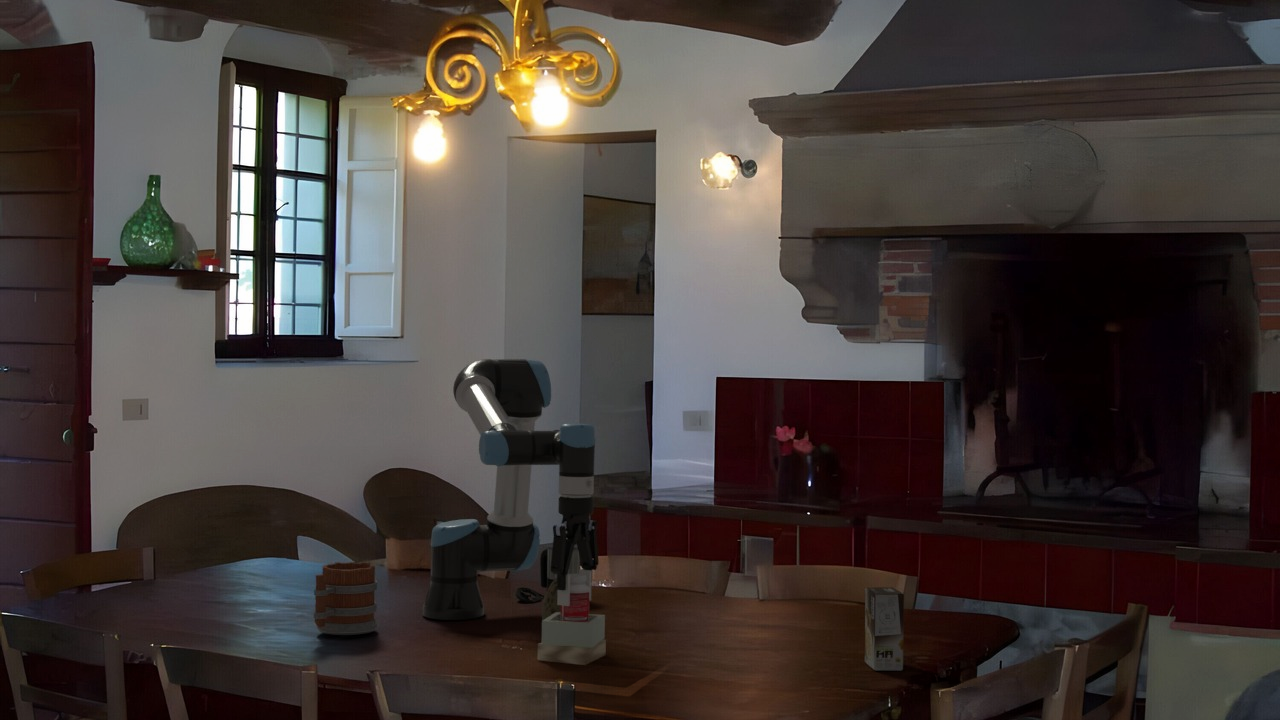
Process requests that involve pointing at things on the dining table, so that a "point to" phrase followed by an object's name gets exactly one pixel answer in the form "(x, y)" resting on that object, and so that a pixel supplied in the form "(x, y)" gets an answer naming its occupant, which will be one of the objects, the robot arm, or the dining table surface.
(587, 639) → the tower top
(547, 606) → the decorative egg
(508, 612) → the dining table surface
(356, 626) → the mug
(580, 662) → the tower base
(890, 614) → the coffee box
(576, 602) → the pill bottle
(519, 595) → the milk frother
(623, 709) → the dining table surface
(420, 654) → the dining table surface
